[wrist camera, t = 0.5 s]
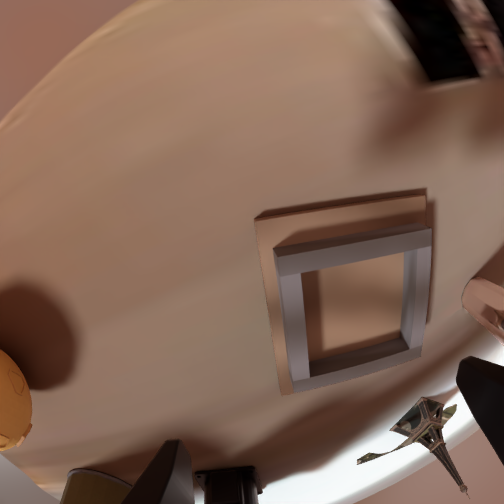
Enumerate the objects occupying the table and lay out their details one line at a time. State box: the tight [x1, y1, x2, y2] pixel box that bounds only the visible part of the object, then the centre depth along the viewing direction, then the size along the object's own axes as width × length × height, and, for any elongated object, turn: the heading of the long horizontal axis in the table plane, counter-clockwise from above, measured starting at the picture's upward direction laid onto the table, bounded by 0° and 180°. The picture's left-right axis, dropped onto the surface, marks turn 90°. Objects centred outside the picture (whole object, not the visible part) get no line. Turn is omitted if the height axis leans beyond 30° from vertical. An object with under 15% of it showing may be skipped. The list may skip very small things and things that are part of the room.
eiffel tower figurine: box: [357, 397, 470, 499], centre depth 22 cm, size 15×10×13 cm
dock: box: [254, 194, 432, 396], centre depth 21 cm, size 14×12×3 cm
